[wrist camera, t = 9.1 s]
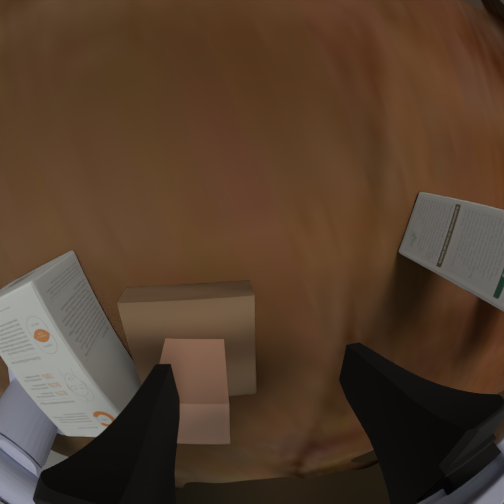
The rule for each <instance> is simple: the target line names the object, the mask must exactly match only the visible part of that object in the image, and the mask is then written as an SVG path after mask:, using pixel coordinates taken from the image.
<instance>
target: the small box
mask: <svg viewBox="0 0 504 504" xmlns="http://www.w3.org/2000/svg"><path fill="white" fill-rule="evenodd" d="M0 356H1V357H2V359H3V360H4V362H5V363H6V365H7V366H8V368H9V369H10V370H11V372H12V373H13V375H14V376H15V377H16V379H17V380H18V382H19V383H20V384H21V386H22V387H23V388H24V389H25V391H26V392H27V393H28V394H29V396H30V397H31V398H32V399H33V401H34V402H35V403H36V404H37V405H38V406H39V408H40V409H41V410H42V411H43V412H44V413H45V414H46V415H47V417H48V418H49V419H50V420H51V421H52V422H53V423H54V424H55V425H56V426H57V427H58V428H59V429H60V430H61V431H62V432H63V433H64V434H65V435H66V436H88V437H97V436H98V435H99V434H101V433H102V432H103V431H104V430H105V429H106V428H107V427H108V426H109V425H110V424H111V423H112V422H113V421H114V420H115V418H116V417H117V416H118V415H119V414H120V413H121V411H122V410H123V409H124V408H125V407H126V405H127V404H128V403H129V402H130V400H131V399H132V398H133V396H134V395H135V393H136V392H137V391H138V389H139V388H140V387H141V382H140V379H139V376H138V374H137V371H136V368H135V365H134V362H133V360H132V358H131V357H130V355H129V354H128V352H127V351H126V349H125V347H124V346H123V344H122V342H121V341H120V339H119V338H118V336H117V334H116V333H115V331H114V329H113V328H112V326H111V324H110V322H109V320H108V319H107V317H106V315H105V313H104V311H103V310H102V308H101V306H100V304H99V302H98V300H97V298H96V296H95V294H94V292H93V291H92V289H91V287H90V284H89V282H88V280H87V278H86V276H85V274H84V272H83V270H82V268H81V265H80V263H79V261H78V259H77V256H76V254H75V252H74V251H73V250H72V251H69V252H67V253H66V254H64V255H62V256H60V257H58V258H56V259H54V260H52V261H50V262H48V263H46V264H44V265H42V266H40V267H38V268H37V269H35V270H33V271H31V272H29V273H28V274H26V275H24V276H22V277H20V278H18V279H16V280H14V281H13V282H11V283H10V284H8V285H7V286H5V287H3V288H2V289H1V290H0Z"/></svg>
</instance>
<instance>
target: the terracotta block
mask: <svg viewBox="0 0 504 504" xmlns="http://www.w3.org/2000/svg"><path fill="white" fill-rule="evenodd" d="M159 364H171V367H172V371H173V375H174V379H175V383H176V387H177V391H178V394H179V398H180V421H179V430H178V438H177V443H180V444H230V418H229V396H228V385H227V373H226V360H225V347H224V339H170V338H165V342H164V346H163V350H162V355H161V359H160V363H159Z"/></svg>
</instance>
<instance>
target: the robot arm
mask: <svg viewBox="0 0 504 504" xmlns="http://www.w3.org/2000/svg"><path fill="white" fill-rule="evenodd" d="M8 371H9V379H10V385H9V386H8V388H7V389H6V391H5V392H4V394H3V395H2V397H1V398H0V501H1V502H3V503H4V504H176V498H175V476H174V469H175V456H176V447H177V438H178V430H179V421H180V398H179V394H178V391H177V387H176V383H175V379H174V375H173V371H172V367H171V364H156V365H155V366H154V367H153V368H152V370H151V371H150V373H149V375H148V376H147V378H146V379H145V381H144V382H143V384H142V385H141V387H140V388H139V389H138V391H137V392H136V393H135V395H134V396H133V398H132V399H131V400H130V402H129V403H128V404H127V405H126V407H125V408H124V409H123V410H122V411H121V413H120V414H119V415H118V416H117V417H116V418H115V420H114V421H113V422H112V423H111V424H110V425H109V426H108V427H107V428H106V429H105V430H104V431H103V432H102V433H101V434H99V435H98V436H97V437H96V438H95V439H94V440H93V441H91V442H90V443H89V444H88V445H86V446H85V447H84V448H82V449H81V450H79V451H78V452H76V453H75V454H73V455H72V456H70V457H69V458H67V459H65V460H64V461H62V462H60V463H58V464H56V465H54V466H52V467H50V468H48V469H46V470H43V469H42V467H43V466H44V465H45V463H46V460H47V458H48V455H49V452H50V450H51V447H52V444H53V442H54V439H55V437H56V434H57V433H59V434H61V435H64V433H63V432H62V431H61V430H60V429H59V428H58V427H57V426H56V425H55V424H54V423H53V422H52V421H51V420H50V419H49V418H48V417H47V415H46V414H45V413H44V412H43V411H42V410H41V409H40V408H39V406H38V405H37V404H36V403H35V402H34V401H33V399H32V398H31V397H30V396H29V394H28V393H27V392H26V391H25V389H24V388H23V387H22V386H21V384H20V383H19V382H18V380H17V379H16V377H15V376H14V375H13V373H12V372H11V370H10V369H9V368H8ZM339 381H340V383H341V386H342V389H343V391H344V394H345V396H346V398H347V400H348V402H349V404H350V406H351V407H352V409H353V411H354V413H355V414H356V416H357V418H358V420H359V421H360V423H361V425H362V427H363V428H364V430H365V432H366V434H367V435H368V437H369V439H370V441H371V444H372V446H373V449H374V451H375V454H376V456H377V459H378V462H379V464H380V467H381V470H382V473H383V476H384V480H385V483H386V486H387V490H388V495H389V499H390V503H391V504H502V503H503V502H504V438H503V439H502V440H501V441H500V442H499V443H498V444H497V445H495V444H494V441H495V440H496V437H495V436H494V434H493V433H494V432H495V430H496V429H497V428H498V426H499V425H500V424H501V422H502V421H503V420H504V399H503V398H502V397H501V396H500V395H495V394H479V393H472V392H466V391H461V390H457V389H453V388H449V387H446V386H442V385H439V384H436V383H434V382H431V381H429V380H426V379H424V378H421V377H419V376H417V375H415V374H413V373H411V372H409V371H407V370H405V369H403V368H401V367H400V366H398V365H396V364H394V363H393V362H391V361H389V360H388V359H386V358H384V357H383V356H381V355H379V354H378V353H376V352H374V351H373V350H371V349H369V348H368V347H366V346H364V345H363V344H361V343H354V344H349V345H346V350H345V355H344V360H343V365H342V369H341V374H340V378H339Z"/></svg>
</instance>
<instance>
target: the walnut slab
mask: <svg viewBox="0 0 504 504" xmlns="http://www.w3.org/2000/svg"><path fill="white" fill-rule="evenodd" d="M117 305H118V309H119V313H120V317H121V321H122V324H123V328H124V332H125V335H126V339H127V342H128V345H129V349H130V352H131V355H132V358H133V362H134V365H135V368H136V371H137V374H138V376H139V379H140V382H141V385H142V384H143V382H144V381H145V379H146V378H147V376H148V375H149V373H150V371H151V370H152V368H153V367H154V366H155V365H156V364H159V363H160V359H161V355H162V350H163V346H164V342H165V338H170V339H224V347H225V360H226V373H227V385H228V396H238V395H248V394H256V351H255V303H254V293H253V290H252V287H251V284H250V281H249V280H244V281H230V282H215V283H199V284H182V285H163V286H143V287H127V288H126V289H125V291H124V293H123V294H122V296H121V297H120V299H119V301H118V302H117Z"/></svg>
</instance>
